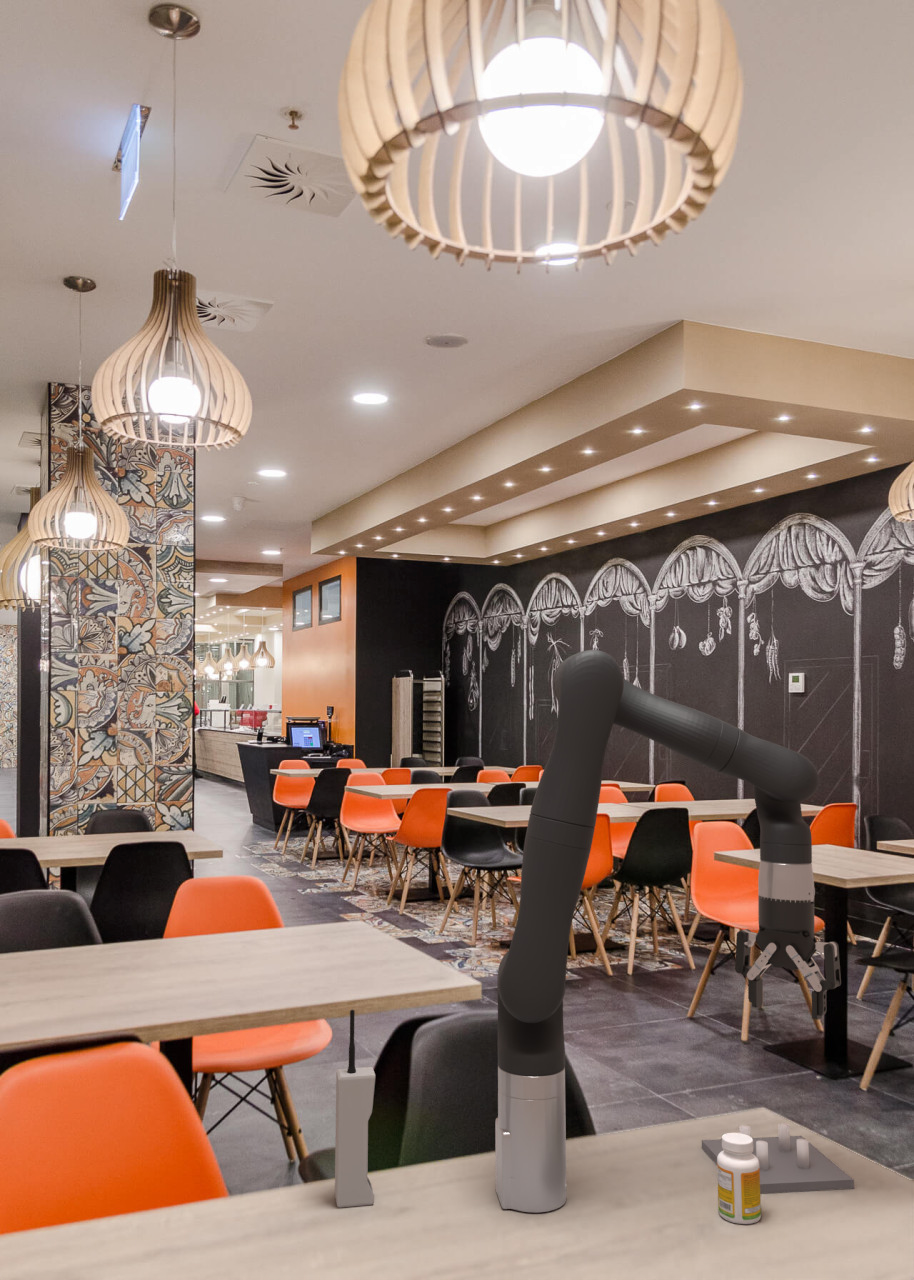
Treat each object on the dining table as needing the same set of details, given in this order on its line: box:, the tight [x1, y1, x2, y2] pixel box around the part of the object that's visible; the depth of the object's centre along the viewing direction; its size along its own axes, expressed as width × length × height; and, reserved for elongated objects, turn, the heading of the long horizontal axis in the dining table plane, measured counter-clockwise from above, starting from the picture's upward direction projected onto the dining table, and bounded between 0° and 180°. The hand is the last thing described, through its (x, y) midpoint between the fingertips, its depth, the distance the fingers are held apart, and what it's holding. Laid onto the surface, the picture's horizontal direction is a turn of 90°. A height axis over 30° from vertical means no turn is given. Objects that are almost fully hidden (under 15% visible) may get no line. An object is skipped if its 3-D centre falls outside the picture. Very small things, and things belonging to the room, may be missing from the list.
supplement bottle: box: [716, 1132, 762, 1225], centre depth 131 cm, size 5×5×10 cm
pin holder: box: [701, 1122, 855, 1194], centre depth 146 cm, size 16×16×5 cm
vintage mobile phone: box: [334, 1009, 376, 1209], centre depth 136 cm, size 4×5×25 cm
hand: (786, 1012), depth 139 cm, fingers open, 8 cm apart
